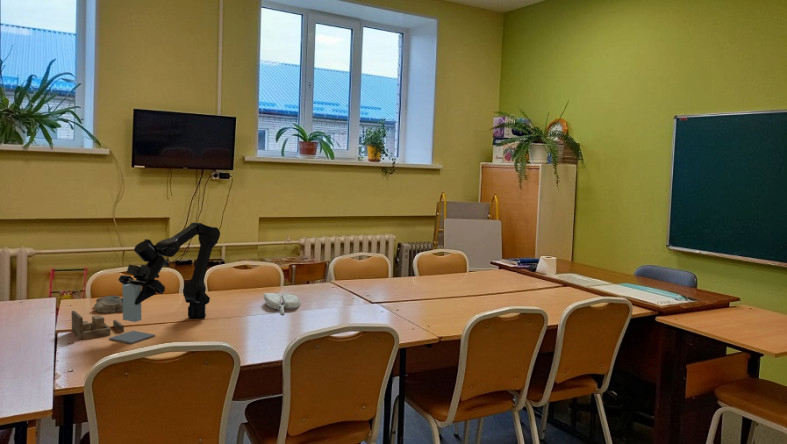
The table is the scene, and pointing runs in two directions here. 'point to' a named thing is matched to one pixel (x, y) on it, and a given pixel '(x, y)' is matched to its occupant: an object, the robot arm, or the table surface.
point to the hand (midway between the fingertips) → (128, 303)
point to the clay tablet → (109, 304)
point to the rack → (78, 328)
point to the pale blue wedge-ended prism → (131, 302)
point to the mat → (132, 337)
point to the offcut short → (86, 326)
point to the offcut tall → (98, 322)
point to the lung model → (275, 301)
